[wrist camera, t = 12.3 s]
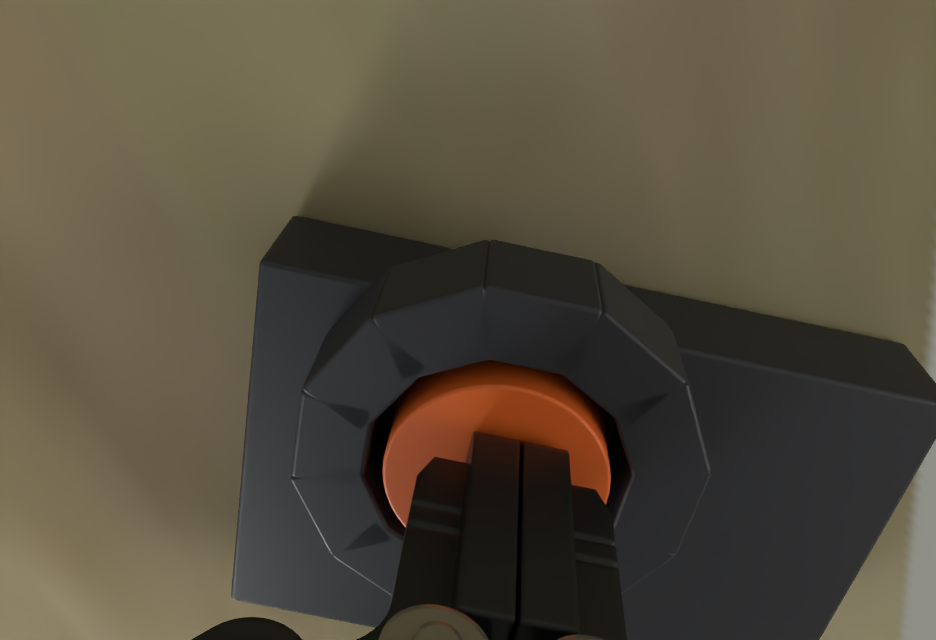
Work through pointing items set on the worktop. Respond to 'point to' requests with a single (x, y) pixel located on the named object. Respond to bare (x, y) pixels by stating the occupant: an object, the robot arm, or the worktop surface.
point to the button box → (625, 418)
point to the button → (492, 423)
